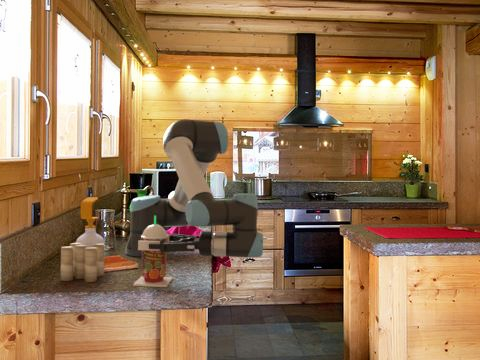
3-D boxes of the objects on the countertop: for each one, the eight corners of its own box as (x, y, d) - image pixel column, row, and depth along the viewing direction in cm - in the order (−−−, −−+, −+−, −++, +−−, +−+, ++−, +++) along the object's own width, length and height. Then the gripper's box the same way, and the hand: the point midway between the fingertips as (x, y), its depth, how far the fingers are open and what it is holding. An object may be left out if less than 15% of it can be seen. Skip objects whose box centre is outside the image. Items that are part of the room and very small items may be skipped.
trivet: (141, 277, 150) (141, 276, 150) (172, 279, 150) (172, 277, 150) (133, 285, 140) (133, 283, 140) (166, 287, 140) (166, 285, 140)
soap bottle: (108, 268, 163) (110, 197, 162) (93, 273, 154) (95, 198, 154) (86, 265, 165) (87, 196, 165) (70, 271, 157) (71, 197, 156)
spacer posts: (72, 273, 154) (72, 242, 154) (105, 274, 154) (106, 243, 154) (58, 280, 144) (59, 248, 143) (94, 282, 143) (94, 249, 143)
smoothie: (141, 284, 140) (142, 217, 139) (138, 277, 148) (140, 214, 147) (169, 283, 142) (170, 217, 142) (165, 276, 150) (167, 214, 150)
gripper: (208, 264, 132) (133, 261, 132) (216, 248, 157) (152, 246, 157) (208, 237, 131) (133, 235, 132) (216, 226, 156) (153, 224, 157)
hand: (143, 241), depth 145 cm, fingers open, 13 cm apart
